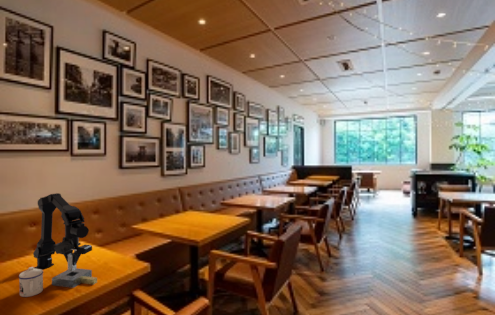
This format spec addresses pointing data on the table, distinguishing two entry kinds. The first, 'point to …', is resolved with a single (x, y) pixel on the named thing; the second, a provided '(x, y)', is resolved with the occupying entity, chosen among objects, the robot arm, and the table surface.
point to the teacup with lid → (31, 282)
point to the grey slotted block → (74, 278)
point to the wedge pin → (71, 263)
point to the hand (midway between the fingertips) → (72, 264)
